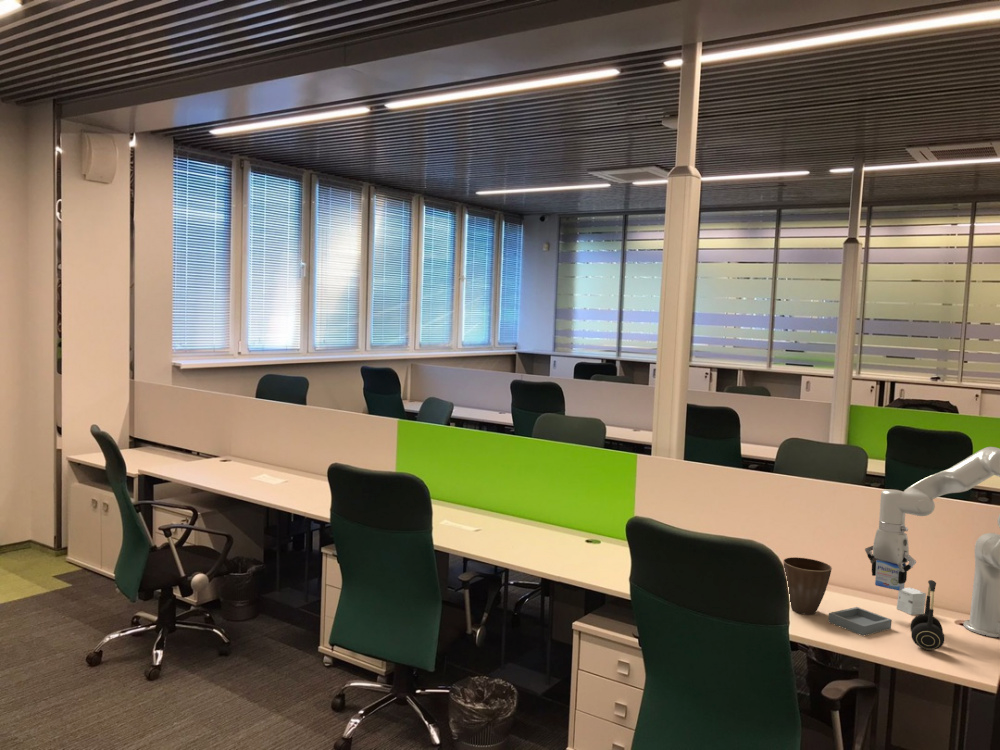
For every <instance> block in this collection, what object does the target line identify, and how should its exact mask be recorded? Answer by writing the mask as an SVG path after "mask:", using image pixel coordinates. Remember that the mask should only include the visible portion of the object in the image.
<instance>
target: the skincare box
mask: <svg viewBox="0 0 1000 750" xmlns="http://www.w3.org/2000/svg"><path fill="white" fill-rule="evenodd" d="M897 595H898V596H897V602H896V609H897V610H898V611H901V612H903V613H906V614H908V615H909V616H914V615H916V616H918V615H921V614H925V607H926V599H927V593H926V592H923V591H921V590H919V589H916V588H913V587H904V589H902V590H900V591H898V594H897Z"/></svg>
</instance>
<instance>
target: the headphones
mask: <svg viewBox="0 0 1000 750" xmlns="http://www.w3.org/2000/svg"><path fill="white" fill-rule="evenodd" d="M927 583H928V587H927V588H928V589H927V594H926V598H925V606H924V614H917V615H916V616H914V617H913V618H912V620H911V622H910V628H909V629H910V632H911V638H912V641H913V643H914V644H915V645H916V646H917V647H919V648H921V649H924V650H926V649H927V650H928V651H934V650H937V649H940V648H941V647H942V646H943V645H944V643H945V640H946V639H945V637H946V636H945V634H944V630H943V626H942V624H941V622H940V621H939V620H938V619H937V618H936V617H935V616H934V601H935V592H936V585H937V582H936V581H934V580H932V579H931V580H928V582H927Z"/></svg>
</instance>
